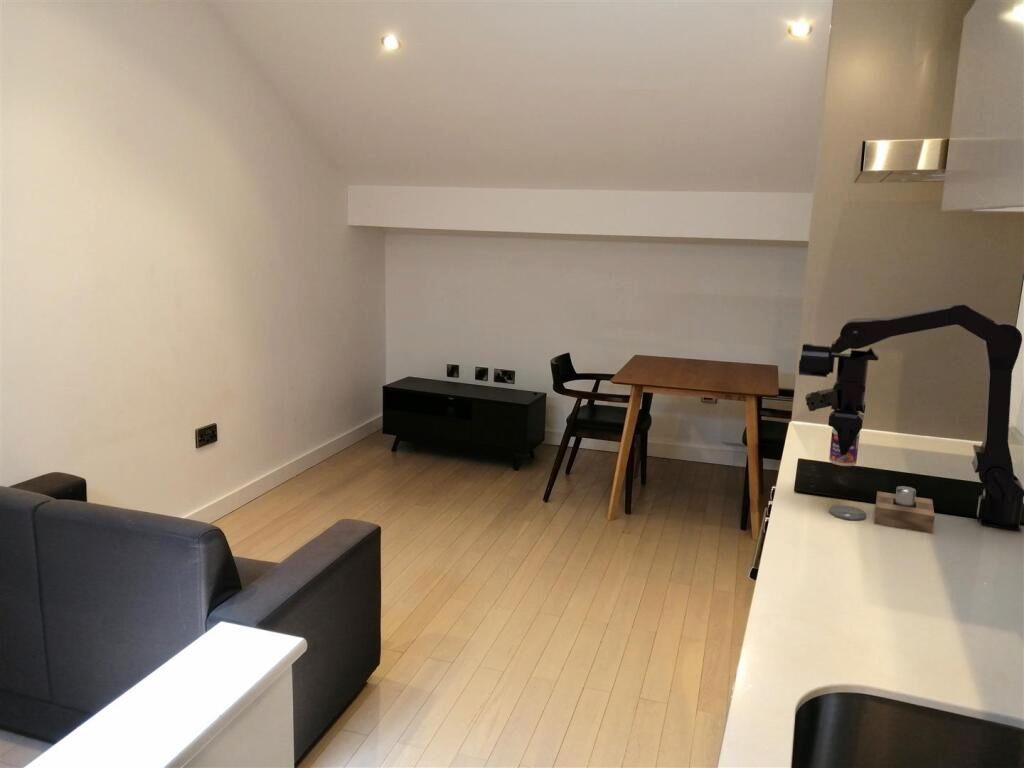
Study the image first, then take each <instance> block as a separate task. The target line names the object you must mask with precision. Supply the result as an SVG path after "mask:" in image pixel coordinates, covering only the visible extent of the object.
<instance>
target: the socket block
mask: <svg viewBox="0 0 1024 768" xmlns="http://www.w3.org/2000/svg"><path fill="white" fill-rule="evenodd" d="M895 498H896V493H892V492H891V493H890V492H884V491H879V490H878V491H876V498H875V499H876V501H875V507H874V510H875V511H874V523H873V524H875V525H880V526H887V527H893V528H899V529H906V530H909V531H910V530H911V531H917V532H923V533H929V534H933V530H934V521H935V511H934V503H933V502H934V501H933V499H932V498H925V497H917V496H915V503H914V508H912V507H906V506H899V505H895Z"/></svg>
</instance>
